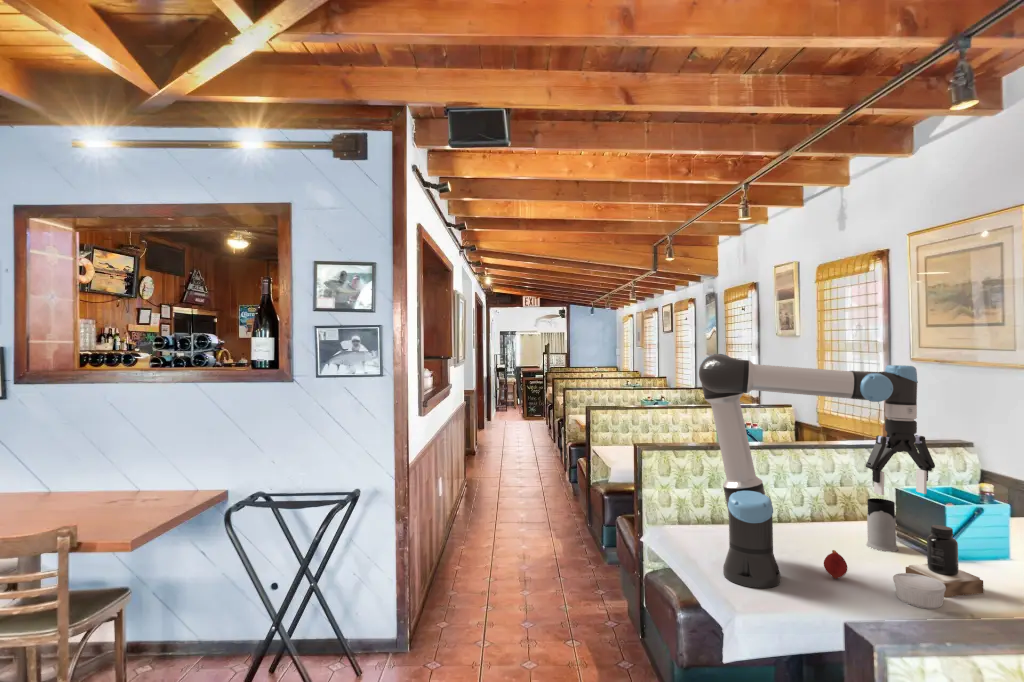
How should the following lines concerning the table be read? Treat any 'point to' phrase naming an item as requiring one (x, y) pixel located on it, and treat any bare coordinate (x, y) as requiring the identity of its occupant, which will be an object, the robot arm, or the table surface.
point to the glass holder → (881, 524)
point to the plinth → (951, 581)
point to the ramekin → (919, 590)
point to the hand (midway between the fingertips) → (900, 493)
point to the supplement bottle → (942, 551)
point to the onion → (835, 565)
